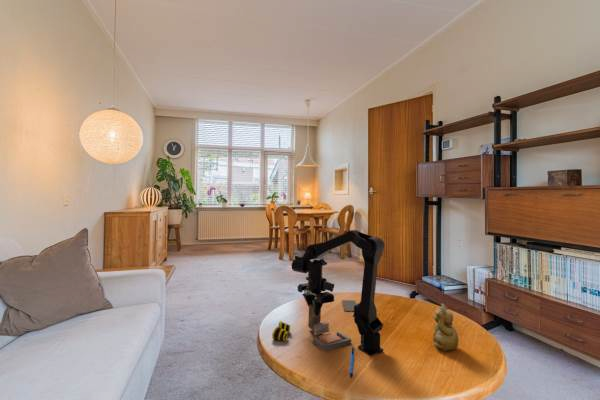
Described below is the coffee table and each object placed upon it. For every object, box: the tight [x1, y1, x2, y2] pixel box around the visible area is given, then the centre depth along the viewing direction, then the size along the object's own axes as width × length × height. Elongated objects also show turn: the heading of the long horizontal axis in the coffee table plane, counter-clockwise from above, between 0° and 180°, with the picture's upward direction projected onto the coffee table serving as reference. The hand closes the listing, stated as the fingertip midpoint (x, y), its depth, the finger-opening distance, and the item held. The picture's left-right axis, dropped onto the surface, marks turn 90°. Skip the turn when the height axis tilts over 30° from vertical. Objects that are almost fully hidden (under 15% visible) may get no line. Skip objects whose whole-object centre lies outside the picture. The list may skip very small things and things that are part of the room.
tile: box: [318, 332, 342, 345], centre depth 113 cm, size 6×6×2 cm
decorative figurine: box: [433, 303, 460, 353], centre depth 109 cm, size 10×8×15 cm
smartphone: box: [341, 299, 357, 313], centre depth 151 cm, size 7×1×15 cm
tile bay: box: [312, 331, 352, 352], centre depth 112 cm, size 8×12×2 cm, turn 120°
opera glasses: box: [271, 320, 292, 342], centre depth 117 cm, size 10×5×5 cm, turn 169°
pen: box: [349, 346, 355, 378], centre depth 99 cm, size 1×19×1 cm, turn 168°
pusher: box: [307, 304, 330, 336], centre depth 120 cm, size 8×6×9 cm
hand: (314, 313), depth 122 cm, fingers closed on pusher, 3 cm apart
